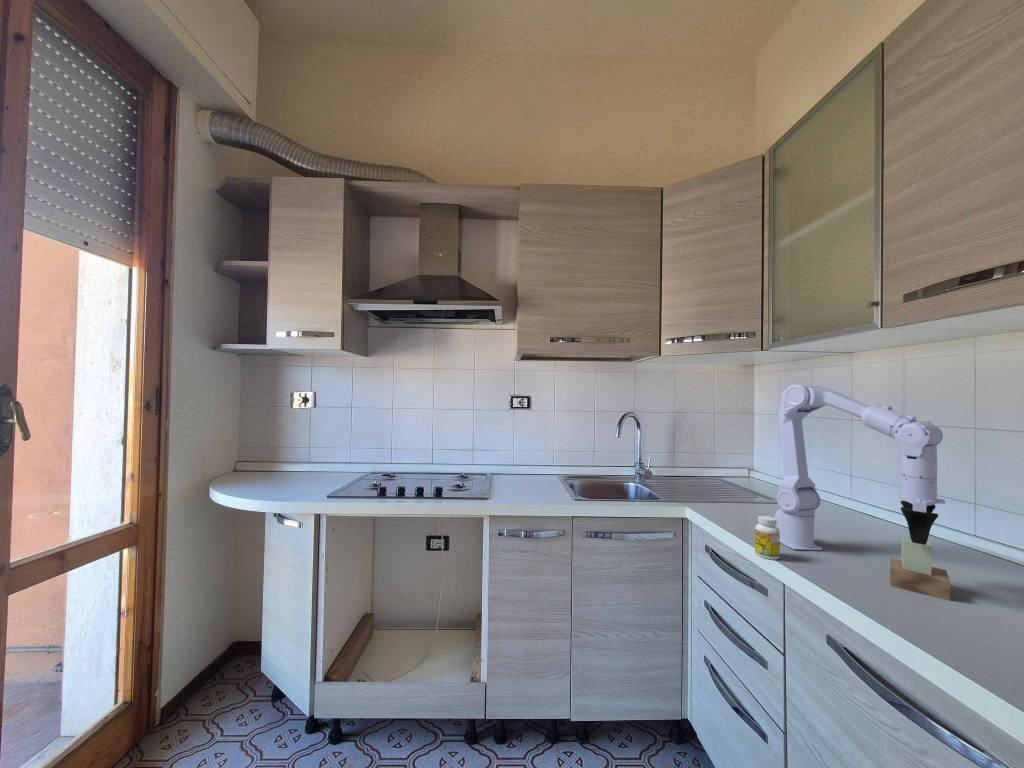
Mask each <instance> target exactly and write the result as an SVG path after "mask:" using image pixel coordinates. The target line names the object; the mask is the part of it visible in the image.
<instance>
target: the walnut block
mask: <svg viewBox="0 0 1024 768" xmlns="http://www.w3.org/2000/svg"><path fill="white" fill-rule="evenodd" d="M889 561H890V563H889V564H890V565H889V566H890V569H889V571H890V573H889V574H890V577H889V578H890V579H889V580H890V581H889V582H890V583H889V584H890V587H893V588H895V589H901V590H905V591H908V592H912V593H916V594H921V595H924V596H929V597H933V598H936V599H941V600H946V601H949V602H951V598H952V597H951V595H952V594H951V593H952V592H951V591H952V590H951V588H952V586H951V585H952V584H951V580H950V578H949V577H950V576H949V574H948V572H947V569H943V568H939V567H934V566H932V569H931V575H927V574H923V573H918V572H914V571H909V570H905V569H903V568H902V559H896V558H893V557H892V558H891V557H890V560H889Z"/></svg>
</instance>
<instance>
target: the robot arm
mask: <svg viewBox="0 0 1024 768" xmlns="http://www.w3.org/2000/svg"><path fill="white" fill-rule="evenodd" d="M825 406H829V407H831V408H835V409H837V410H840V411H842V412H843V413H844V412H845V413H847V414H850V415H852V416H854V417H858V418H860V419H861V420H862V423H863V425H864V426H865V427H868V428H870V429H872V430H873V431H876V432H879V433H881V434H883V435H884V436H887V437H889V438H892V439H894V440H896V443H898V445H900V493H899V494H898V498H899V499H901V500H900V504H901V505H902V506H900V511H901V513H902V514H903V516H904V519H905V521H906V523H907V527H908V532H909V536H910V537H909V538H911V540H912V542H913V543H917V544H923V545H926V543H927V541H929V540H928V539H929V535H930V532H931V528H932V526H933V524H934V522H935V521H936V520H937V519H938V517H939V514H938V513H935V512H933V511H934V510H935V509H936V505H938V504H941V505H945V504H946V500H945V499H943V498H938V445H939V444H941V443H942V441H943V438H944V435H943V431H942V430H941V428H940V427H939V426H937V425H936V424H935V423H932V422H931V421H928V420H921V421H920V420H919V421H918V420H917V417H916V416H914V415H911V414H909V415H906V414H903V413H900V412H898V411H897V410H893V406H890V405H889V404H883V405H881V404H877V405H872V406H869V405H866V404H864V403H862V402H860V401H858V400H855V399H853V398H851V397H849V396H847V395H844V394H843V393H840V392H838V391H836V390H833V389H831V388H827V387H823V386H821V385H805V384H798V383H797V384H796V383H795V384H792V385H790V386H788V387H787V388H786V389H785V390H784V391H783V392H781V404H780V407H779V410H778V412H777V420H778V427H779V428H778V429H779V437H780V447H781V454H782V455H781V457H782V464H783V473H784V476H783V478H782V479H781V480H780V482H779V483H778V492H777V494H776V501H777V502H776V503H777V504H778V507H780V508H778V509H777V510H776V512H775V514H774V517H773V518H775V519H776V523H777V524H776V525H775V526H776V527H777V528H778V529H779V531H780V544H782V545H784V546H786V547H788V548H790V549H792V550H795V551H823V547H821V546H819V545H817V544H815V514H816V510H817V509H818V508H819V507H820V505H821V496H820V494H819V493H818V490H817V489H816V484H815V482H814V481H813V480H812V479H811V478H810V477H809V472H808V463H807V462H808V461H807V453H806V446H805V438H804V428H803V420H804V419H805V418H806V417H807V416H808V415H809V414H810V413H813V412H814V411H817V410H819V409H821V408H823V407H825Z"/></svg>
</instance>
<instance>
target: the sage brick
mask: <svg viewBox="0 0 1024 768" xmlns="http://www.w3.org/2000/svg"><path fill="white" fill-rule="evenodd" d="M932 558H933V546H932V544H931V541H930V540H927V543H926V545H923V544H917V543H913V542H912V540H911V537H908V536H904V535H902V536H901V560H902V568H903V569H905V570H909V571H914V572H918V573H923V574H927V575H931V569H932V567H933V566H932V565H933V564H932V562H933V561H932V560H933V559H932Z"/></svg>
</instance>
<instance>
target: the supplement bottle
mask: <svg viewBox="0 0 1024 768" xmlns="http://www.w3.org/2000/svg"><path fill="white" fill-rule="evenodd" d="M757 522H758V524H756V525H755V526H754V553H755V555H756V556H758V557H759V558H762V559H766V560H772V561H776V560H778V559H780V554H781V551H780V550H781V546H780V545H781V543H780V531H779V529H778V528H777V527H776V526H775V525H776V524H777V523H776V519H775V518H774V517H772V516H767V515H759V516H758V517H757Z"/></svg>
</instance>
